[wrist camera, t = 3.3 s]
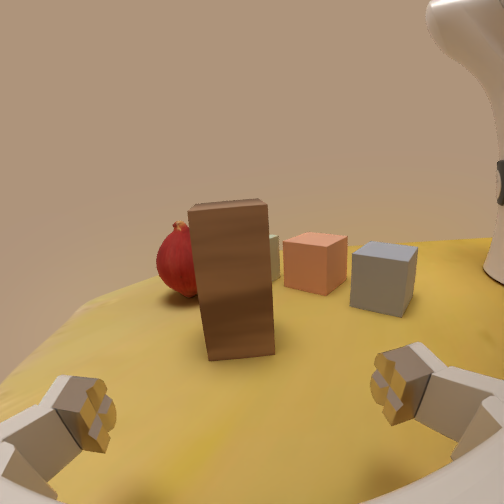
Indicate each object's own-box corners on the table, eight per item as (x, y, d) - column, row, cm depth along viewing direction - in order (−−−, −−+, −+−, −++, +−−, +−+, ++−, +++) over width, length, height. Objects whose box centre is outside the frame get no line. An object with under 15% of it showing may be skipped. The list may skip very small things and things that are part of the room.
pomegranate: (178, 285, 33) (169, 217, 31) (225, 286, 31) (217, 214, 29) (153, 306, 27) (139, 227, 25) (205, 310, 26) (195, 224, 24)
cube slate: (412, 296, 25) (418, 247, 24) (401, 318, 21) (408, 261, 20) (368, 287, 28) (370, 241, 27) (349, 307, 25) (352, 253, 23)
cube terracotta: (346, 280, 31) (347, 236, 29) (325, 296, 27) (326, 246, 26) (308, 273, 34) (307, 231, 33) (284, 286, 30) (282, 241, 29)
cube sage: (280, 278, 33) (278, 235, 32) (251, 292, 30) (248, 245, 28) (248, 270, 36) (245, 231, 35) (219, 283, 33) (214, 240, 32)
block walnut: (274, 354, 19) (267, 204, 16) (208, 361, 18) (187, 211, 16) (265, 323, 23) (258, 198, 20) (210, 328, 23) (195, 204, 20)
